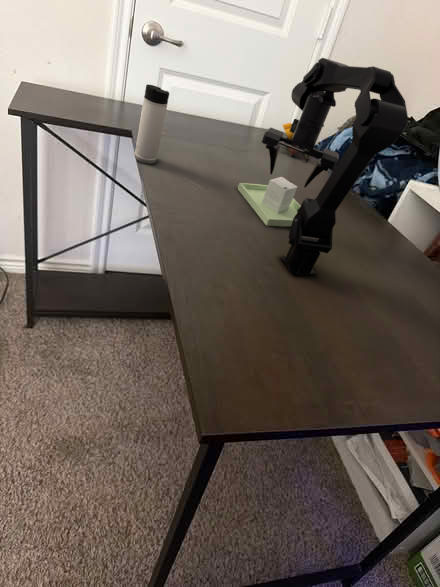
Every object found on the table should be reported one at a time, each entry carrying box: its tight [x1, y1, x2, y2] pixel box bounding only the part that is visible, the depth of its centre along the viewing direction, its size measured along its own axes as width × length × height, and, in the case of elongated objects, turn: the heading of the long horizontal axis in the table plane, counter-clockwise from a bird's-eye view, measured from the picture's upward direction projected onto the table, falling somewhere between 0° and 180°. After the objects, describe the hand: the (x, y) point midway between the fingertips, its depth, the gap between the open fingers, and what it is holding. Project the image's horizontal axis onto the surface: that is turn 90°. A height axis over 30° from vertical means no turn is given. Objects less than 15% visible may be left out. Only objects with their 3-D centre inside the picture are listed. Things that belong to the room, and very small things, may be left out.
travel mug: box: [133, 83, 170, 165], centre depth 116 cm, size 6×7×20 cm
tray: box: [237, 182, 301, 227], centre depth 121 cm, size 19×15×2 cm
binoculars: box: [282, 122, 325, 160], centre depth 160 cm, size 14×14×15 cm
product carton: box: [261, 176, 298, 213], centre depth 119 cm, size 6×6×7 cm
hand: (287, 180), depth 109 cm, fingers open, 9 cm apart
